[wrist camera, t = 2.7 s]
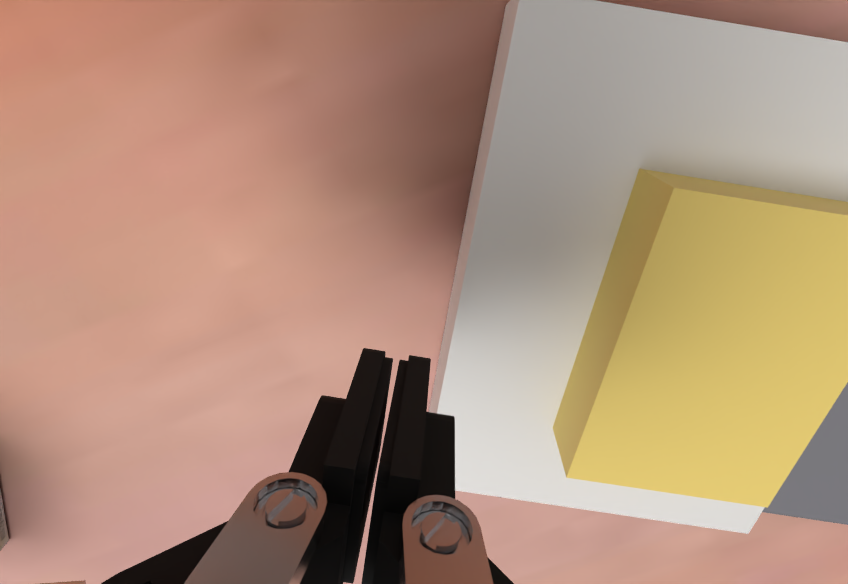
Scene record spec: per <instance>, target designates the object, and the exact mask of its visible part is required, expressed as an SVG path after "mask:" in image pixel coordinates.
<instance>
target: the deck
mask: <svg viewBox="0 0 848 584" xmlns="http://www.w3.org/2000/svg"><path fill="white" fill-rule="evenodd" d="M639 169H646V170H652V171H658V172H664V173H671V174H677V175H683V176H689V177H696V178H702V179H708V180H714V181H720V182H727V183H733V184H739V185H745V186H752V187H758V188H764V189H770V190H777V191H783V192H789V193H795V194H802V195H808V196H814V197H820V198H827V199H833V200H839V201H845V202H848V42H843V41H837V40H831V39H825V38H819V37H813V36H807V35H801V34H795V33H789V32H783V31H777V30H771V29H765V28H759V27H753V26H747V25H741V24H735V23H729V22H723V21H717V20H711V19H705V18H698V17H692V16H686V15H680V14H674V13H668V12H662V11H656V10H650V9H644V8H638V7H632V6H626V5H620V4H614V3H608V2H602V1H596V0H510V1H509V2H508V3H507V4H506V7H505V13H504V18H503V23H502V28H501V34H500V39H499V44H498V49H497V55H496V60H495V65H494V70H493V76H492V81H491V86H490V92H489V97H488V102H487V107H486V113H485V118H484V123H483V128H482V134H481V139H480V144H479V149H478V155H477V160H476V165H475V170H474V176H473V181H472V186H471V192H470V197H469V202H468V207H467V213H466V218H465V223H464V228H463V234H462V239H461V244H460V249H459V255H458V260H457V265H456V270H455V276H454V281H453V286H452V292H451V297H450V302H449V307H448V313H447V318H446V323H445V328H444V334H443V339H442V344H441V349H440V355H439V360H438V365H437V370H436V376H435V381H434V386H433V392H432V397H431V402H430V407H429V412H431V413H438V414H444V415H450V416H454V417H455V490H456V491H463V492H470V493H476V494H483V495H490V496H497V497H503V498H510V499H517V500H524V501H530V502H537V503H544V504H551V505H557V506H564V507H571V508H578V509H585V510H591V511H598V512H605V513H612V514H618V515H625V516H632V517H639V518H645V519H652V520H659V521H666V522H672V523H679V524H686V525H693V526H699V527H706V528H713V529H720V530H726V531H733V532H740V533H747V534H748V533H749V532H750V530H751V528H752V527H753V525H754V524H755V522H756V521H757V519H758V517H759V516H760V514H761V513H762V511H763V509H764V508H765V507H760V506H753V505H747V504H740V503H733V502H727V501H720V500H713V499H706V498H700V497H693V496H686V495H680V494H673V493H666V492H660V491H653V490H646V489H639V488H633V487H626V486H619V485H613V484H606V483H599V482H592V481H586V480H579V479H572V478H566V474H565V471H564V467H563V464H562V460H561V456H560V453H559V449H558V446H557V442H556V439H555V435H554V431H553V425H554V422H555V419H556V416H557V413H558V410H559V407H560V404H561V401H562V398H563V395H564V392H565V389H566V386H567V383H568V380H569V377H570V374H571V371H572V368H573V365H574V362H575V359H576V356H577V353H578V350H579V347H580V344H581V341H582V338H583V335H584V332H585V329H586V326H587V323H588V320H589V317H590V314H591V311H592V308H593V305H594V302H595V299H596V296H597V293H598V290H599V287H600V284H601V281H602V278H603V275H604V272H605V269H606V266H607V263H608V260H609V257H610V254H611V251H612V248H613V245H614V242H615V239H616V236H617V233H618V230H619V227H620V224H621V221H622V218H623V215H624V212H625V209H626V206H627V203H628V200H629V197H630V195H631V192H632V189H633V186H634V183H635V180H636V177H637V174H638V171H639Z"/></svg>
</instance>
